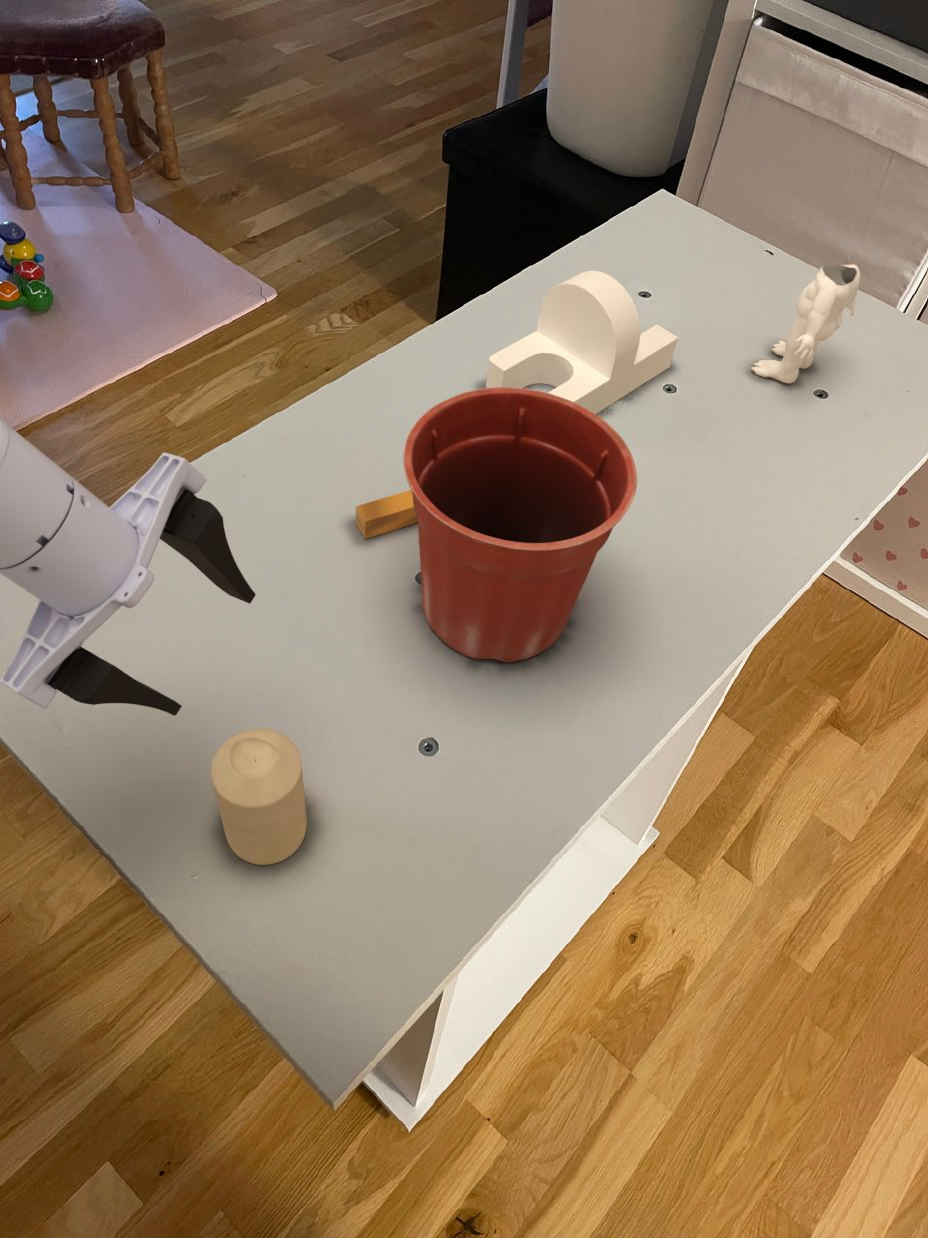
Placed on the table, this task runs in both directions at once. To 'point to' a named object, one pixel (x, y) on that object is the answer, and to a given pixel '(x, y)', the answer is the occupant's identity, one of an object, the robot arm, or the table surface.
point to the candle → (260, 795)
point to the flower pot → (511, 514)
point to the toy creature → (813, 321)
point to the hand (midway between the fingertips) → (206, 649)
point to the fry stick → (386, 514)
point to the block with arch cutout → (585, 345)
